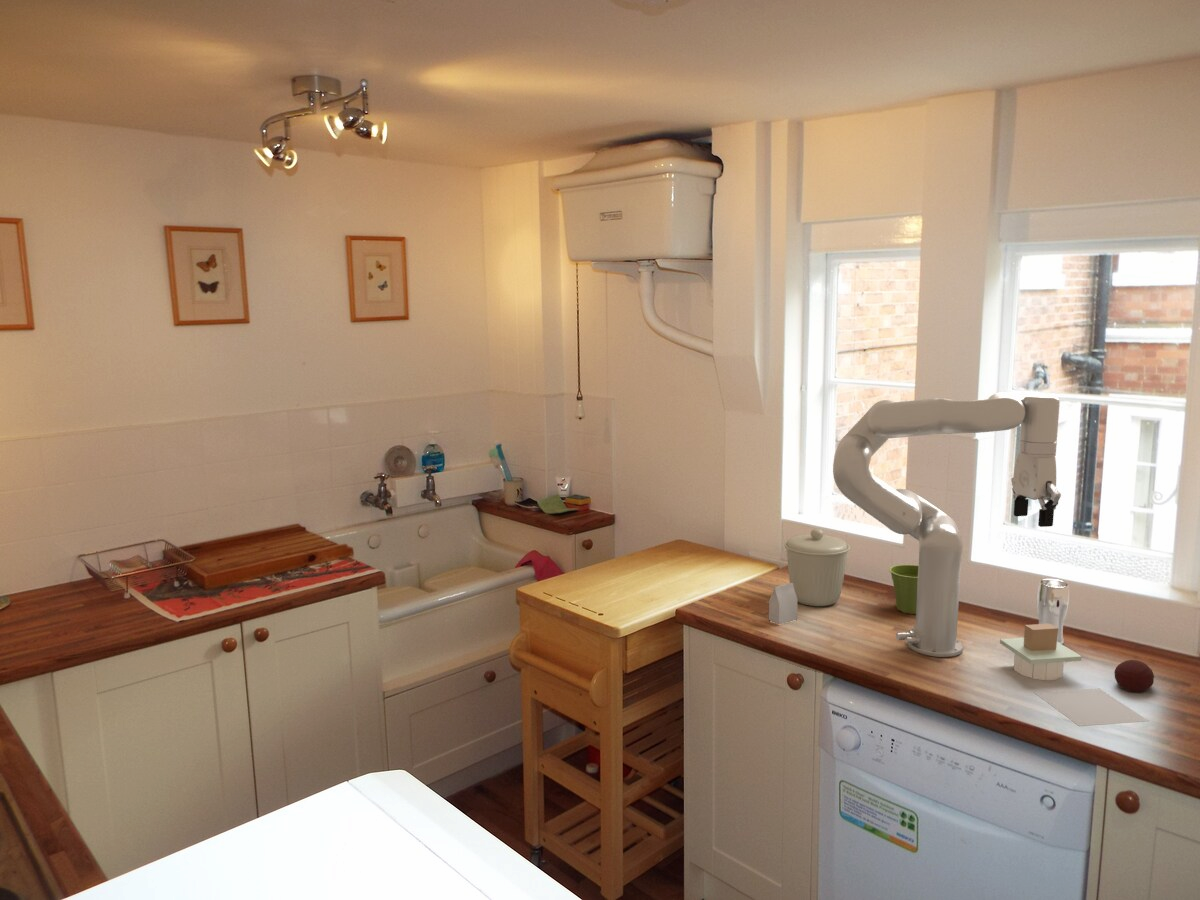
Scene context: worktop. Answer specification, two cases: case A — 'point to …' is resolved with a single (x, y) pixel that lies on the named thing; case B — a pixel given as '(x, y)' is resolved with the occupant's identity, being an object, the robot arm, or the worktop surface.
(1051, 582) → the beer glass
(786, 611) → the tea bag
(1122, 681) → the potato
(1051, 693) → the mat
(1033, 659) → the board
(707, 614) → the worktop surface
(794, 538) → the canister
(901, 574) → the plant pot
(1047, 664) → the bowl
